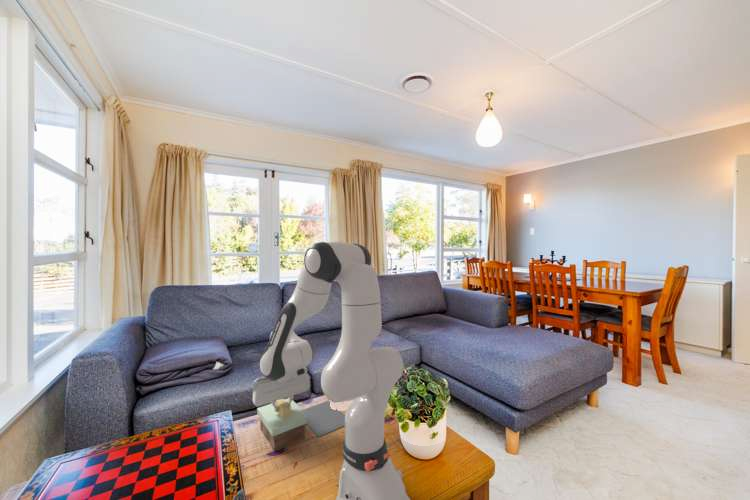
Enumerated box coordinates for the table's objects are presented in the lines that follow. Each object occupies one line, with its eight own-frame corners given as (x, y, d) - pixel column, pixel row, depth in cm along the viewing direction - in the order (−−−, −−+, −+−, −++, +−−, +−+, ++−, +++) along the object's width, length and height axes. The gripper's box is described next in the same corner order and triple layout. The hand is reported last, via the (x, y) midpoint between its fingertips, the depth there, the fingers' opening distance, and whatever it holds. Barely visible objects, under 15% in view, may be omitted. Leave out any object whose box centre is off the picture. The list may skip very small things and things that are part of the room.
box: (305, 438, 107) (304, 418, 106) (274, 451, 100) (274, 430, 100) (288, 419, 118) (288, 401, 118) (260, 429, 112) (260, 411, 112)
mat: (353, 422, 116) (353, 421, 116) (318, 437, 107) (318, 436, 107) (328, 401, 132) (328, 400, 132) (295, 412, 123) (295, 412, 123)
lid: (308, 422, 106) (308, 406, 106) (272, 436, 98) (272, 419, 98) (290, 403, 120) (290, 388, 120) (257, 414, 112) (257, 398, 112)
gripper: (255, 382, 100) (255, 423, 100) (311, 367, 112) (311, 403, 113) (249, 376, 105) (250, 415, 105) (304, 362, 117) (304, 397, 118)
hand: (282, 409), depth 109 cm, fingers closed on lid, 3 cm apart
